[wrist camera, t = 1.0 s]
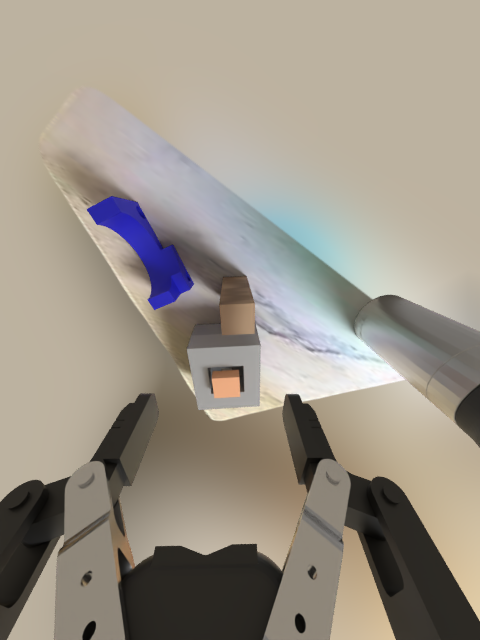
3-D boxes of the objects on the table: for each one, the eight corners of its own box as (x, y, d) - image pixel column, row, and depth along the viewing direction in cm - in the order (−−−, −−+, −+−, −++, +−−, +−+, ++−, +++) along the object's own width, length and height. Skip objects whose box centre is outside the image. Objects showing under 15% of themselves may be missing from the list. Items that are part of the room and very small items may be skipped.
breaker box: (254, 321, 32) (260, 345, 26) (254, 375, 38) (259, 406, 31) (195, 324, 32) (186, 349, 26) (203, 378, 37) (198, 409, 31)
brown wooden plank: (246, 276, 29) (254, 303, 19) (246, 298, 30) (254, 333, 21) (223, 277, 29) (219, 304, 19) (224, 299, 30) (222, 335, 20)
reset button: (238, 361, 29) (239, 377, 26) (239, 380, 31) (240, 396, 28) (213, 363, 29) (211, 378, 26) (215, 381, 31) (214, 398, 28)
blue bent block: (194, 283, 29) (185, 296, 24) (168, 294, 30) (154, 310, 24) (148, 197, 24) (124, 189, 19) (118, 212, 25) (86, 209, 19)
